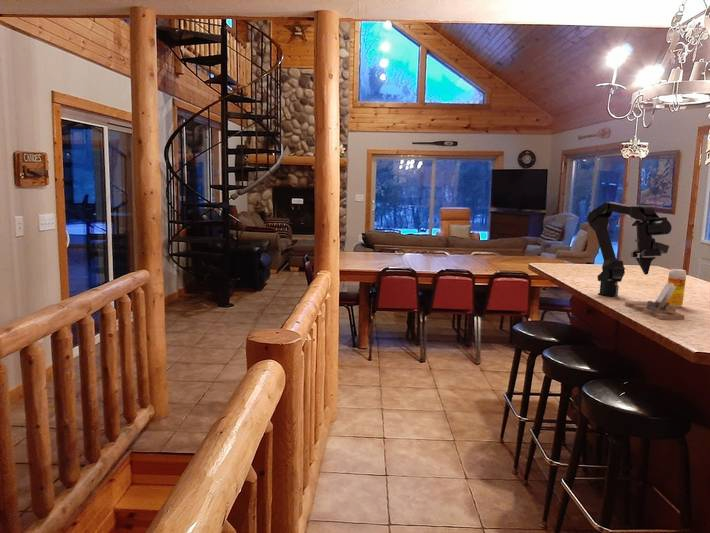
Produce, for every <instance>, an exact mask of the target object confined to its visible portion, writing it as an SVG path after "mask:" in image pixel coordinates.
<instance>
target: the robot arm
mask: <svg viewBox="0 0 710 533" xmlns="http://www.w3.org/2000/svg"><path fill="white" fill-rule="evenodd" d="M613 213H618V214H623V215H628V216H630V218H631V219H634V220H635V221H634V222H633V223H632V224H631V226H632V227H636V238H635V240H634V241H635V242H636V249H635V250H632V251H631V252H630V258H634V259H635V261H636V262H637V263H638V265H639V267H640V269H641V270H642V273H643V274H644V275H646V276H647V275H649V271H650V268H651V264H652V262H653V261H654V260H655V259H656V258H657V257H661V256H662V254H663V255H665V254H668V251H669V249H670V245H668V244H665V243H664V244H663V242H659V241H656V239H655V238H654V236H664V235H668V234H670V233H671V232H672V229H673V228H672V224H671V222H670V221H669V220H668V217H666V216H665V217H664V216H662V217H659V215H658V214H657V212H656V210H655V208H654V207H653V206H652V205H630V204H624V203H619V202H615V201H605V202H603V203H602V204H601V205H599V206H598V207H595V208H594V209H592V210H591V211H589V213H588V214H587V215H586V220H587V222H588V223H587V224H589V227H590V228H591V229H592V230H593V231H594V233H595V235H596V239H597V241H598V242H597V243H598V245H599V249H600V252H601V257H602V259H603V263H602V266H601V269H602V271H601V272H600V273H599V274H598V275H597V281H598V282H600V284H599V286H600V287H599V292H598V293H597V295H600V296H605V297H611V298H613V297H617V296H618V295H619V285H618V284H619V283H621V282H622V280H623V278H624V276H625V274H626V271H625V270H626V267H625V265H624V262H623V260H619V259H617V257H616V254H615V251H614V247H613V245H612V239H611V237H610V233H609V231H608V226H609V224H610V223H609V219H610V218H611V217H612V216H613Z"/></svg>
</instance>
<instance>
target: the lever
mask: <svg viewBox="0 0 710 533" xmlns="http://www.w3.org/2000/svg"><path fill="white" fill-rule="evenodd" d="M675 288H676V287H675V286H674V284H673V283H668V282H666V283H665V285H664V286H663V288H662V289H661V291H660V293H659V295H658V296H657V298H656V300H655V301H654V302H655V303H657V304H656V308H663V307H664V306H665V304H666V302H667V301H668V299H669V298H670V296H671V295H672V293H673V291H674V290H675Z"/></svg>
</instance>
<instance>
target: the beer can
mask: <svg viewBox="0 0 710 533" xmlns="http://www.w3.org/2000/svg"><path fill="white" fill-rule="evenodd" d="M686 280H687V271H686V270H685V269H680V268H671V269H670V270H669V271H668V277H667V283H673V284H674V286H675V287H676V288H675V290H674V291H673V293H672V295H671V296H670V298H669V299H668V301H667V302H669V303H670V304H669V306H674V307H675V308H681V307H682V306H683V304H684V303H683V302H684V295H685V287H686Z"/></svg>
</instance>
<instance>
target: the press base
mask: <svg viewBox="0 0 710 533" xmlns="http://www.w3.org/2000/svg"><path fill="white" fill-rule="evenodd" d="M656 304H657V303H655V301H651V300H647V301H646V300H645V301H643V300H642V301H639V300H638V301H634V300H633V301H628V300H627V301H625V302H624V306H625V305H626V306H625V307H628V306H629V307H628V308H631V309H633V308H634V310H636V311H638V310H639V312H641V313H643V312H644V313H643V314H647V315H649V316H651V315H652V316H651V317H654V318H656V317H657V319H660V320H684V319H685V314H682V313H680V312H677V309H676V308H677V307H674V306H669V304H670V303H669V302H666V304H665V306H664V307H663V308H656Z"/></svg>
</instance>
